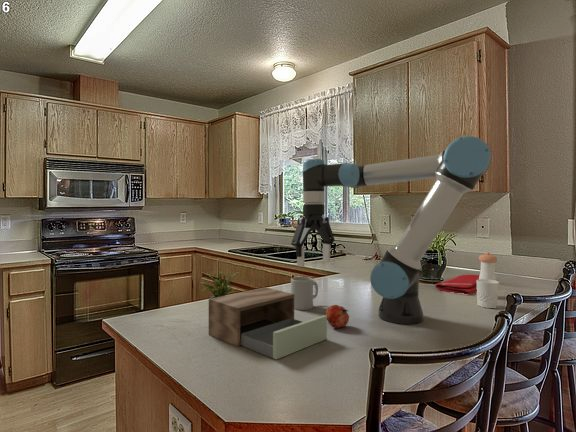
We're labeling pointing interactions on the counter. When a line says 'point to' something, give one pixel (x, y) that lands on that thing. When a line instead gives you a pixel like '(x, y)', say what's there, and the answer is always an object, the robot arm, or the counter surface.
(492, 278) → the pepper shaker
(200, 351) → the counter surface
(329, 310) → the pomegranate
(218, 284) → the house plant
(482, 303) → the white cup
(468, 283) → the dish drying mat
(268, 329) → the drawer
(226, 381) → the counter surface
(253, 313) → the cabinet box
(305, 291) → the mug
